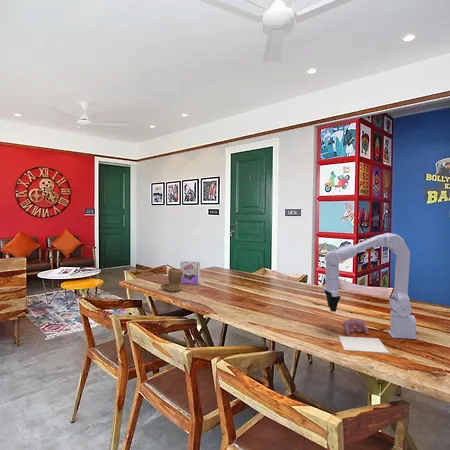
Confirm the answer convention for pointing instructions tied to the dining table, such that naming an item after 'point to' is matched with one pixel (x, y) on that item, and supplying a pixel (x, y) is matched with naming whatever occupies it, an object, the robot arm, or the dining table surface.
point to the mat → (362, 344)
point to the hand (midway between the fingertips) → (331, 308)
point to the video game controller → (354, 322)
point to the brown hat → (173, 280)
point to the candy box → (190, 272)
